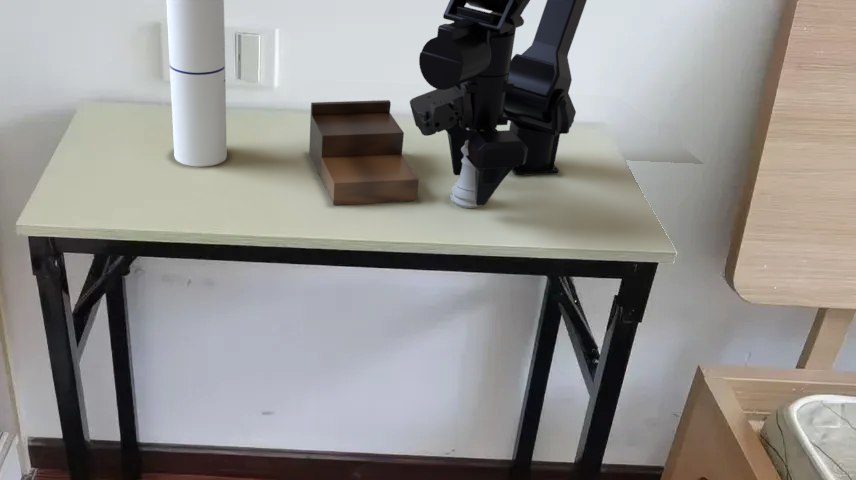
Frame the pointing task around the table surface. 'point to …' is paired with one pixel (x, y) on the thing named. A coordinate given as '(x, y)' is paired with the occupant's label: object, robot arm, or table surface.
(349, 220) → the table surface
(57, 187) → the table surface
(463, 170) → the rook chess piece
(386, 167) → the brown wooden stepped block
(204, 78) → the cylindrical container
